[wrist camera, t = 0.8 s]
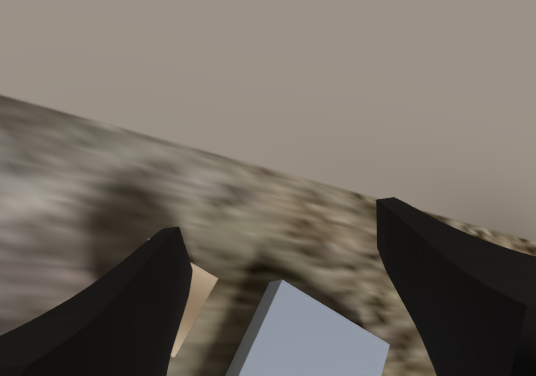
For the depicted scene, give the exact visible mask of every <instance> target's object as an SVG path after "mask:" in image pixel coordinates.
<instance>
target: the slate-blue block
mask: <svg viewBox="0 0 536 376" xmlns="http://www.w3.org/2000/svg"><path fill="white" fill-rule="evenodd" d="M388 349H389V344H387V343H386V342H384V341H383V340H381V339H379V338H378V337H376V336H374V335H373V334H371V333H369V332H368V331H366V330H364V329H363V328H361V327H359V326H358V325H356V324H354V323H353V322H351V321H350V320H348V319H346V318H345V317H343V316H341V315H340V314H338V313H336V312H335V311H333V310H331V309H330V308H328V307H326V306H325V305H323V304H322V303H320V302H318V301H317V300H315V299H313V298H312V297H310V296H308V295H307V294H305V293H303V292H302V291H300V290H298V289H297V288H295V287H293V286H292V285H290V284H289V283H287V282H285V281H284V280H278V281H271V282H269V284H268V286H267V288H266V291H265V293H264V295H263V297H262V299H261V301H260V303H259V305H258V307H257V310H256V312H255V314H254V316H253V318H252V320H251V322H250V324H249V327H248V329H247V331H246V333H245V335H244V337H243V339H242V341H241V343H240V346H239V348H238V350H237V352H236V354H235V356H234V358H233V360H232V362H231V365H230V367H229V369H228V371H227V373H226V375H225V376H381V375H382V371H383V367H384V364H385V360H386V356H387V353H388Z"/></svg>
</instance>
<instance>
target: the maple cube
mask: <svg viewBox="0 0 536 376" xmlns="http://www.w3.org/2000/svg"><path fill="white" fill-rule="evenodd" d="M149 239H150V238H149ZM149 239H148V240H149ZM148 240H147V241H148ZM190 263H191V262H190ZM191 266H192V269H193V273H192V281H191V287H190V293H189V297H188V301H187V304H186V307H185V311H184V314H183V317H182V320H181V324H180V327H179V330H178V333H177V336H176V340H175V343H174V346H173V349H172V353H171V356H172V357H175V355H176V354H177V352H178V350H179V348H180V346H181V345H182V343H183V341H184V339H185V337H186V335H187V334H188V332H189V330H190V328H191V326H192V325H193V323H194V321H195V319H196V317H197V316H198V314H199V312H200V310H201V308H202V307H203V305H204V303H205V301H206V299H207V297H208V296H209V294H210V292H211V290H212V288H213V287H214V285H215V283H216V281H217V279H218V278H216V277H214V276H213V275H211V274H209V273H208V272H206V271H204V270H202V269H201V268H199V267H197V266H196V265H194V264H192V263H191Z"/></svg>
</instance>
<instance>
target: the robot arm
mask: <svg viewBox="0 0 536 376" xmlns="http://www.w3.org/2000/svg"><path fill="white" fill-rule="evenodd" d="M376 206H377V248H378V251H379V253H380V256H381V259H382V262H383V264H384V267H385V269H386V272H387V274H388V275H389V277H390V279H391V281H392V283H393V285H394V287H395V289H396V290H397V292H398V294H399V296H400V298H401V300H402V301H403V303H404V305H405V307H406V309H407V311H408V312H409V314H410V316H411V318H412V320H413V322H414V323H415V325H416V327H417V329H418V332H419V334H420V336H421V338H422V340H423V343H424V345H425V348H426V350H427V352H428V355H429V357H430V360H431V362H432V364H433V367H434V369H435V372H436V374H437V376H536V257H535V256H532V255H528V254H525V253H521V252H518V251H514V250H511V249H508V248H505V247H502V246H499V245H496V244H493V243H491V242H488V241H485V240H482V239H480V238H477V237H474V236H472V235H469V234H467V233H465V232H463V231H460V230H458V229H456V228H454V227H451V226H449V225H447V224H445V223H443V222H441V221H439V220H437V219H435V218H433V217H431V216H429V215H427V214H425V213H423V212H422V211H420V210H418V209H416V208H414V207H412V206H410V205H408V204H407V203H405V202H403V201H401V200H399V199H397V198H394V197H392V198H385V199H378V200H376ZM192 273H193V269H192V266H191V263H190V260H189V257H188V254H187V250H186V247H185V244H184V241H183V238H182V235H181V232H180V228H179V227H172V228H165V229H162V230H160V231H159V232H158V233H156V234H155V235H154V236H152V237H151V238H150V239H149V240H148V241H146V242H145V243H144V244H143V245H142V246H140V247H139V248H138V249H137V250H136V251H134V252H133V253H132V254H131V255H130V256H128V257H127V258H126V259H125V260H124V261H122V262H121V263H120V264H118V265H117V266H116V267H115V268H113V269H112V270H111V271H109V272H108V273H107V274H105V275H104V276H103V277H102V278H100V279H99V280H97V281H96V282H95V283H93V284H92V285H90V286H89V287H87V288H86V289H84V290H83V291H81V292H80V293H78V294H77V295H75V296H74V297H72V298H70V299H69V300H67V301H65V302H64V303H62V304H60V305H58V306H57V307H55V308H53V309H51V310H50V311H48V312H46V313H44V314H43V315H41V316H39V317H37V318H35V319H34V320H32V321H30V322H28V323H26V324H24V325H22V326H20V327H18V328H16V329H14V330H12V331H10V332H7V333H5V334H3V335H1V336H0V376H166V375H167V370H168V365H169V360H170V357H171V353H172V349H173V346H174V343H175V340H176V336H177V333H178V330H179V327H180V324H181V320H182V317H183V314H184V311H185V307H186V304H187V301H188V297H189V293H190V287H191V281H192Z"/></svg>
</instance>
